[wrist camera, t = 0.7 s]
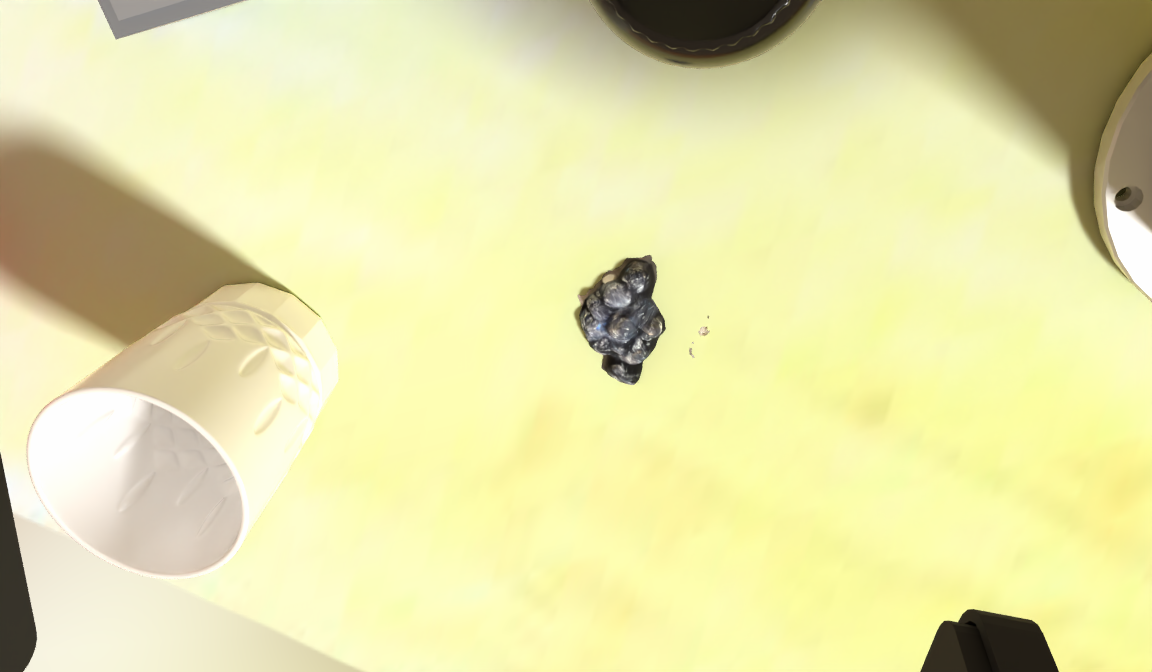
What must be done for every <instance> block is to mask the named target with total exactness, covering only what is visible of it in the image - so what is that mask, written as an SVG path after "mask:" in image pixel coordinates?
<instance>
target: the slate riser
mask: <svg viewBox="0 0 1152 672" xmlns="http://www.w3.org/2000/svg"><path fill="white" fill-rule="evenodd" d="M244 1H248V0H98V2H99V4H100V6H101V8H102V10H103V12H104V15H105V17H106V19H107V21H108V23H109V25H110V28H111V30H112V32H113V34H114V36H115V39H119V38H123V37H126V36H130V35H133V34H137V33H140V32H143V31H147V30H150V29H154V28H157V27H161V26H164V25H168V24H171V23H175V22H178V21H182V20H185V19H188V18H191V17H195V16H198V15H201V14H205V13H208V12H211V11H215V10H218V9H221V8H225V7H228V6H231V5H235V4H238V3H241V2H244Z"/></svg>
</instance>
